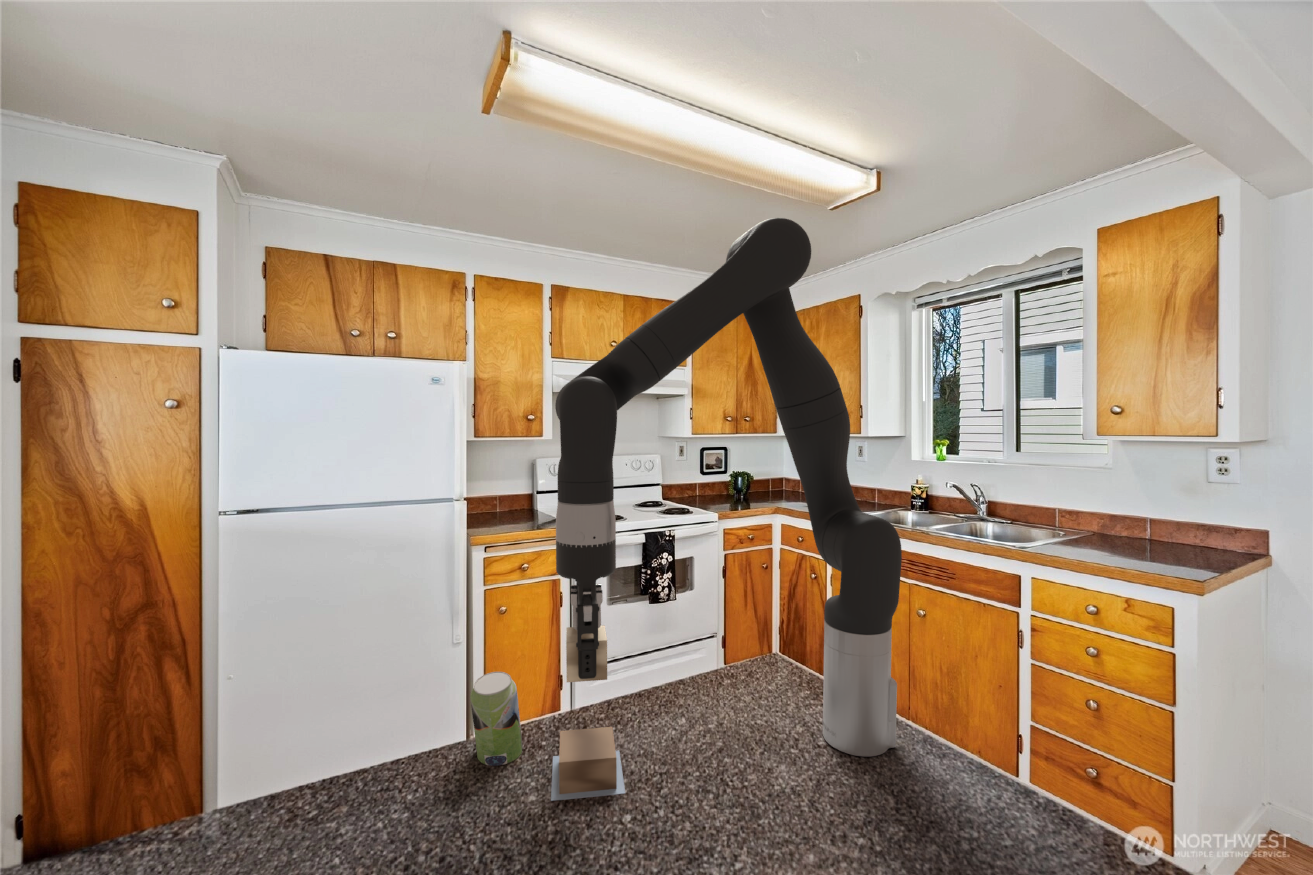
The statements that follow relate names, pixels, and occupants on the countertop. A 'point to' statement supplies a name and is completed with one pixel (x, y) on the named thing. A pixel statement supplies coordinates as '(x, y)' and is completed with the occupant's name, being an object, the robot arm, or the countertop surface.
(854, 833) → the countertop surface
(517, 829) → the countertop surface
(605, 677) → the maple cube
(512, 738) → the beverage can
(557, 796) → the board
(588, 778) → the walnut block
